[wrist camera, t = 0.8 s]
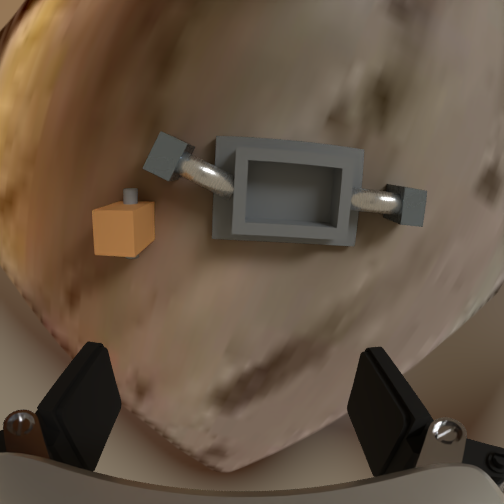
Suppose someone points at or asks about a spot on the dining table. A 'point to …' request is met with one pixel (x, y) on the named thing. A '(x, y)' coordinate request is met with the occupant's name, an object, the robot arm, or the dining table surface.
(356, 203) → the straight shaft
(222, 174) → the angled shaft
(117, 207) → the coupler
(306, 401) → the dining table surface
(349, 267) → the dining table surface
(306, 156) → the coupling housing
